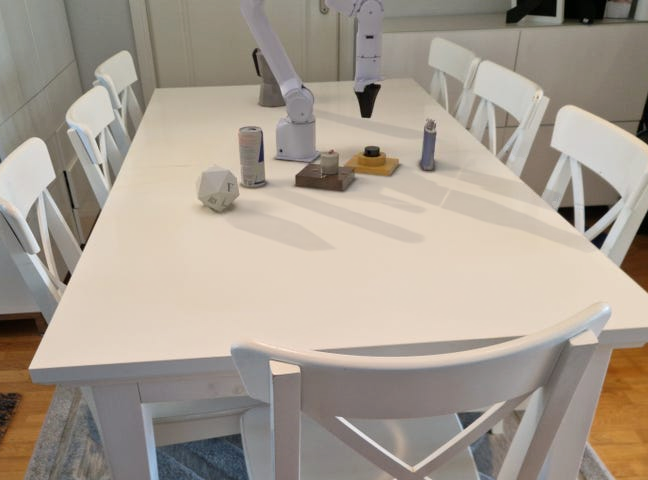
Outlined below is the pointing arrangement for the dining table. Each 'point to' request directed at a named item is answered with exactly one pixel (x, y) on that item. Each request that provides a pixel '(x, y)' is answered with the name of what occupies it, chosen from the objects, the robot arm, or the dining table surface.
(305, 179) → the dial panel
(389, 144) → the dining table surface
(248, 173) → the energy drink
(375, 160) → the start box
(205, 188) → the die
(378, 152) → the black button
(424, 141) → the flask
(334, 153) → the dial
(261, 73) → the coffeepot
